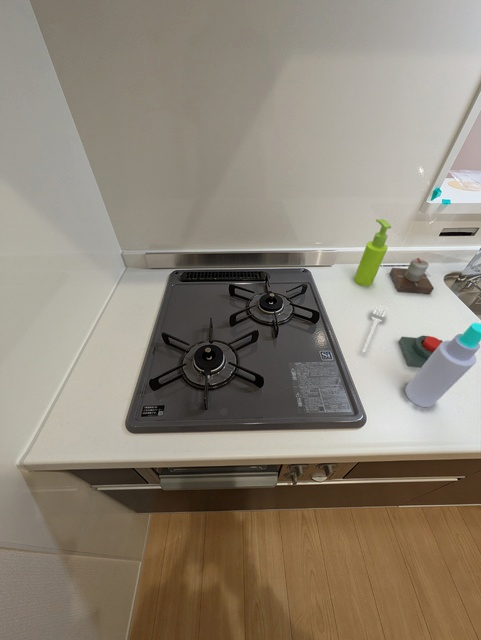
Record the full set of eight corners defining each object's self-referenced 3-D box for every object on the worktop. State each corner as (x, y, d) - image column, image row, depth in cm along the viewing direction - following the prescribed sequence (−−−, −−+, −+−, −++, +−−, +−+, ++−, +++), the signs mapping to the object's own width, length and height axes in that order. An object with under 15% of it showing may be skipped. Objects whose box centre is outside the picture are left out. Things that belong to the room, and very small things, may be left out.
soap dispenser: (366, 273, 95) (388, 217, 81) (375, 285, 90) (401, 228, 76) (350, 274, 95) (369, 218, 81) (358, 287, 90) (381, 229, 76)
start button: (435, 341, 69) (438, 336, 68) (440, 352, 66) (444, 348, 65) (420, 340, 69) (423, 335, 68) (425, 351, 66) (428, 346, 65)
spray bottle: (404, 401, 61) (461, 334, 45) (404, 380, 65) (457, 311, 49) (434, 412, 59) (504, 346, 44) (433, 389, 63) (497, 321, 48)
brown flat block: (419, 275, 95) (422, 269, 93) (430, 294, 88) (434, 287, 86) (389, 273, 96) (392, 267, 94) (397, 291, 88) (401, 285, 87)
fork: (356, 351, 71) (358, 346, 70) (374, 307, 84) (377, 303, 82) (369, 356, 70) (371, 352, 69) (385, 311, 82) (388, 307, 81)
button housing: (437, 345, 73) (445, 335, 70) (450, 370, 67) (459, 360, 64) (398, 341, 73) (404, 331, 70) (407, 366, 68) (415, 356, 65)
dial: (422, 282, 88) (431, 266, 84) (406, 281, 88) (415, 265, 84) (417, 273, 91) (425, 258, 87) (402, 272, 92) (410, 257, 88)
